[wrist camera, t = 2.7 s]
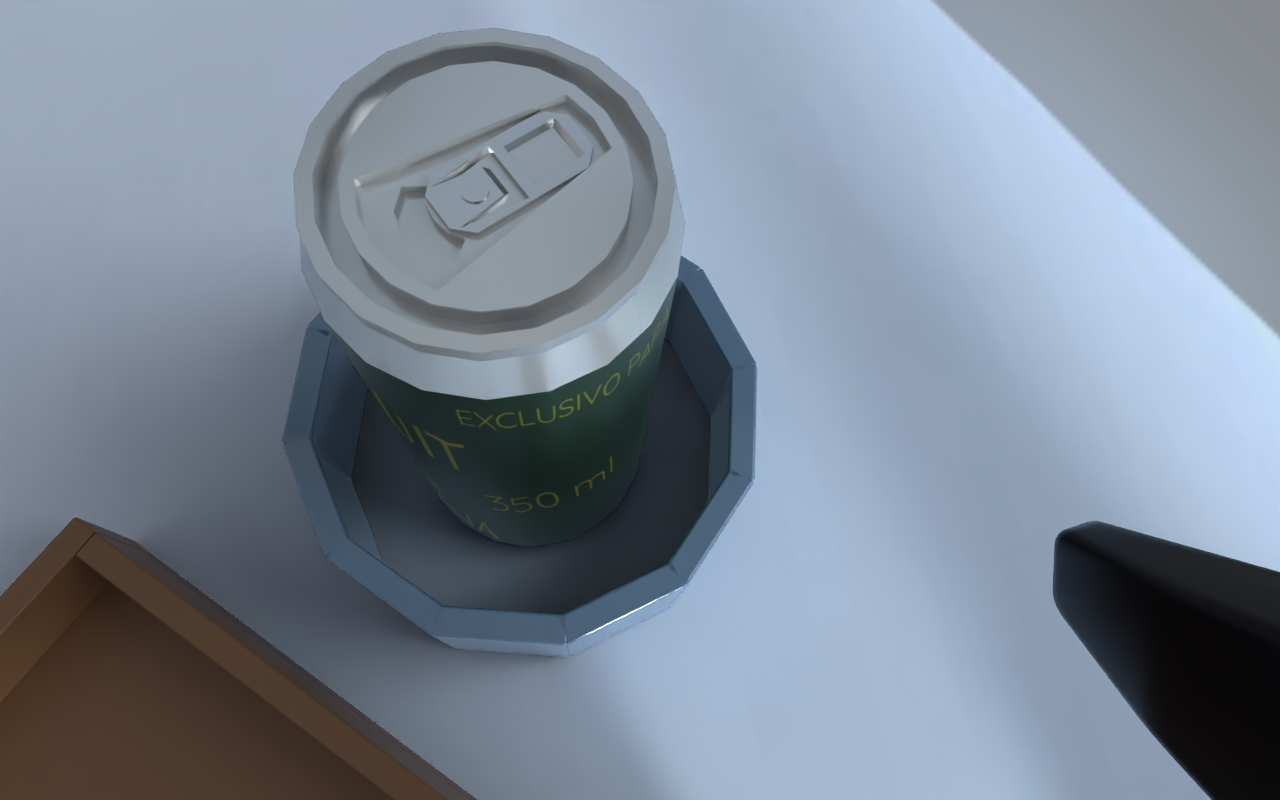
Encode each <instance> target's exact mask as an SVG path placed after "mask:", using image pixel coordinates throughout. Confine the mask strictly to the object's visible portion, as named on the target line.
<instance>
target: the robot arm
mask: <svg viewBox="0 0 1280 800" xmlns="http://www.w3.org/2000/svg"><path fill="white" fill-rule="evenodd" d="M1053 596H1054V600H1055V603H1056V606H1057V608H1058V610H1059V612H1060V613H1061V615H1062V616H1063V618H1064V619H1065V621H1066V622H1067V623H1068V624H1069V626H1070V627H1071V628H1072V630H1073V631H1074V632H1075V634H1076V635H1077V636H1078V638H1079V639H1080V640H1081V642H1082V643H1083V644H1084V646H1085V647H1086V648H1087V650H1088V651H1089V652H1090V654H1091V655H1092V656H1093V658H1094V659H1095V660H1096V662H1097V663H1098V664H1099V666H1100V667H1101V668H1102V670H1103V671H1104V672H1105V673H1106V675H1107V676H1108V677H1109V679H1110V680H1111V681H1112V683H1113V684H1114V685H1115V687H1116V688H1117V689H1118V691H1119V692H1120V693H1121V695H1122V696H1123V697H1124V699H1125V700H1126V701H1127V703H1128V704H1129V705H1130V707H1131V708H1132V709H1133V711H1134V712H1135V713H1136V715H1137V716H1138V717H1139V718H1140V720H1141V721H1142V722H1143V723H1144V724H1145V726H1146V727H1147V728H1148V729H1149V731H1150V732H1151V733H1152V734H1153V736H1154V737H1155V738H1156V739H1157V740H1158V741H1159V742H1160V744H1161V745H1162V746H1163V747H1164V748H1165V749H1166V750H1167V752H1168V753H1169V754H1170V755H1171V756H1172V757H1173V758H1174V759H1175V760H1176V761H1177V763H1178V764H1179V765H1180V766H1181V767H1182V768H1183V769H1184V770H1185V771H1186V772H1187V773H1188V775H1189V776H1190V777H1191V778H1192V779H1193V780H1194V781H1195V782H1196V783H1197V784H1198V785H1199V787H1200V788H1201V789H1202V790H1203V791H1204V792H1205V793H1206V794H1207V795H1208V796H1209V797H1210V799H1211V800H1280V572H1278V571H1274V570H1271V569H1267V568H1263V567H1260V566H1256V565H1253V564H1249V563H1246V562H1242V561H1239V560H1235V559H1231V558H1228V557H1224V556H1221V555H1217V554H1214V553H1210V552H1207V551H1203V550H1199V549H1196V548H1192V547H1189V546H1185V545H1182V544H1178V543H1174V542H1171V541H1167V540H1164V539H1160V538H1157V537H1153V536H1150V535H1146V534H1142V533H1139V532H1135V531H1132V530H1128V529H1125V528H1121V527H1117V526H1114V525H1110V524H1107V523H1103V522H1099V521H1091V522H1086V523H1083V524H1080V525H1077V526H1075V527H1072V528H1069V529H1066V530H1063V531H1062V532H1060V533H1059V534H1058V536H1057V538H1056V540H1055V547H1054V572H1053Z"/></svg>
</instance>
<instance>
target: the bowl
mask: <svg viewBox="0 0 1280 800" xmlns="http://www.w3.org/2000/svg"><path fill="white" fill-rule="evenodd" d="M308 327H309V328H307V329H306V333H305V338H304V342H303V347H302V352H301V356H300V361H299V365H298V370H297V374H296V379H295V384H294V388H293V393H292V397H291V402H290V407H289V411H288V416H287V420H286V425H285V429H284V434H283V439H282V442H283V443H284V444H283V448H284V451H285V453H286V456H287V459H288V461H289V464H290V467H291V469H292V472H293V475H294V477H295V480H296V483H297V485H298V488H299V491H300V493H301V496H302V499H303V501H304V504H305V507H306V509H307V512H308V515H309V517H310V520H311V523H312V525H313V528H314V531H315V533H316V536H317V539H318V541H319V544H320V547H321V549H322V552H323V555H324V556H325V557H326V559H327V560H328V561H329V562H330V563H332V564H333V565H334V566H336V567H337V568H339V569H340V570H341V571H343V572H344V573H345V574H347V575H348V576H350V577H351V578H352V579H354V580H355V581H356V582H358V583H359V584H360V585H362V586H363V587H365V588H366V589H367V590H369V591H370V592H371V593H373V594H374V595H376V596H377V597H378V598H380V599H381V600H382V601H384V602H385V603H387V604H388V605H389V606H391V607H392V608H393V609H395V610H396V611H398V612H399V613H400V614H402V615H403V616H404V617H406V618H407V619H409V620H410V621H411V622H413V623H414V624H415V625H417V626H418V627H420V628H421V629H422V630H424V631H425V632H426V633H428V634H429V635H431V636H433V637H435V638H437V639H438V640H440V641H442V642H444V643H445V644H447V645H449V646H451V647H452V648H456V649H462V650H476V651H490V652H503V653H517V654H531V655H544V656H558V657H569V655H570V656H573V655H575V654H577V653H579V652H581V651H583V650H585V649H587V648H589V647H591V646H593V645H595V644H597V643H599V642H601V641H603V640H605V639H607V638H609V637H611V636H613V635H615V634H617V633H619V632H621V631H624V630H626V629H628V628H630V627H632V626H634V625H636V624H638V623H640V622H642V621H644V620H646V619H648V618H650V617H652V616H654V615H656V614H658V613H660V612H662V611H664V610H666V609H668V608H670V606H671V605H672V604H674V603H675V601H676V600H677V598H678V597H679V596H680V594H681V593H682V592H683V590H684V589H685V588H686V586H687V585H688V584H689V582H690V581H691V579H692V578H693V576H694V574H695V573H696V571H697V570H698V568H699V567H700V565H701V564H702V562H703V561H704V559H705V557H706V556H707V554H708V553H709V551H710V550H711V548H712V547H713V545H714V543H715V542H716V540H717V539H718V537H719V536H720V534H721V533H722V531H723V529H724V528H725V526H726V525H727V523H728V522H729V520H730V519H731V517H732V516H733V514H734V512H735V511H736V509H737V508H738V506H739V505H740V503H741V502H742V500H743V498H744V497H745V495H746V494H747V492H748V491H749V489H750V488H751V486H752V484H753V480H754V478H755V438H756V392H757V367H756V362H755V360H754V359H753V357H752V355H751V353H750V352H749V350H748V348H747V346H746V345H745V343H744V341H743V339H742V338H741V336H740V334H739V332H738V331H737V329H736V327H735V325H734V324H733V322H732V320H731V318H730V317H729V315H728V313H727V311H726V310H725V308H724V306H723V304H722V303H721V301H720V299H719V297H718V296H717V294H716V292H715V290H714V289H713V287H712V285H711V283H710V281H709V280H708V278H707V276H706V274H705V273H704V271H703V270H702V269H700V267H699V266H697V265H695V264H694V263H692V262H691V261H689V260H687V259H686V258H684V257H682V256H680V263H679V270H678V277H677V281H676V286H675V291H674V296H673V300H672V305H671V310H670V315H669V320H668V324H667V329H666V334H665V339H667V340H668V341H670V343H671V345H672V347H673V349H674V351H675V352H676V354H677V356H678V358H679V360H680V362H681V363H682V365H683V367H684V369H685V371H686V373H687V375H688V376H689V378H690V380H691V382H692V384H693V386H694V387H695V389H696V391H697V393H698V395H699V397H700V399H701V400H702V402H703V404H704V406H705V408H706V410H707V412H708V413H709V415H710V417H711V432H710V456H709V481H708V502H707V504H706V505H705V507H704V508H703V510H702V511H701V513H700V514H699V516H698V517H697V519H696V520H695V522H694V523H693V525H692V526H691V528H690V529H689V531H688V533H687V534H686V536H685V537H684V539H683V540H682V542H681V543H680V545H679V546H678V548H677V549H676V551H675V552H674V554H673V555H672V557H671V558H670V560H669V561H668V563H667V564H665V565H663V566H661V567H659V568H657V569H655V570H653V571H651V572H648V573H646V574H644V575H642V576H640V577H638V578H636V579H634V580H632V581H630V582H628V583H626V584H624V585H622V586H620V587H618V588H616V589H614V590H612V591H609V592H607V593H605V594H603V595H601V596H599V597H597V598H595V599H593V600H591V601H589V602H587V603H585V604H583V605H581V606H579V607H577V608H575V609H573V610H571V611H568V612H566V613H564V614H562V615H560V614H546V613H533V612H520V611H506V610H493V609H479V608H466V607H453V606H443V605H441V604H440V603H439V602H437V601H436V600H434V599H433V598H432V597H430V596H429V595H427V594H426V593H425V592H423V591H422V590H420V589H419V588H418V587H416V586H415V585H414V584H412V583H411V582H409V581H408V580H407V579H405V578H404V577H402V576H401V575H400V574H398V573H397V572H395V571H394V570H393V569H391V568H390V567H389V566H387V565H386V564H384V562H383V560H382V557H381V555H380V552H379V550H378V547H377V545H376V542H375V540H374V537H373V534H372V532H371V529H370V527H369V524H368V522H367V519H366V517H365V514H364V512H363V509H362V507H361V504H360V502H359V499H358V497H357V494H356V491H355V489H354V486H353V484H352V481H351V475H352V470H353V465H354V459H355V454H356V449H357V443H358V438H359V433H360V427H361V422H362V417H363V411H364V406H365V401H366V395H367V390H368V387H367V385H366V384H365V382H364V381H363V379H362V378H361V376H360V375H359V373H358V372H357V370H356V368H355V367H354V365H353V364H352V362H351V361H350V359H349V358H348V356H347V355H346V353H345V351H344V350H343V348H342V347H341V345H340V344H339V342H338V341H337V339H336V338H335V336H334V334H333V333H332V331H331V330H330V328H329V327H328V325H327V324H326V322H325V321H324V318H323V316H322V314H321V312H320V313H319V314H318V315H317V316H316V318H315V319H314V320H313V321H312V322H311V323H310V324H309V326H308Z"/></svg>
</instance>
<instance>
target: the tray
mask: <svg viewBox="0 0 1280 800" xmlns="http://www.w3.org/2000/svg"><path fill="white" fill-rule="evenodd" d="M0 800H476V799H475V798H474V797H472V796H471V795H470V794H468V793H467V792H466V791H464V790H463V789H462V788H461V787H459V786H458V785H457V784H455V783H454V782H453V781H451V780H450V779H449V778H447V777H446V776H445V775H443V774H442V773H441V772H439V771H438V770H437V769H435V768H434V767H433V766H431V765H430V764H429V763H427V762H426V761H425V760H423V759H422V758H421V757H419V756H418V755H417V754H415V753H414V752H413V751H411V750H410V749H409V748H408V747H406V746H405V745H404V744H402V743H401V742H400V741H398V740H397V739H396V738H394V737H393V736H392V735H390V734H389V733H388V732H386V731H385V730H384V729H382V728H381V727H380V726H378V725H377V724H376V723H374V722H373V721H372V720H370V719H369V718H368V717H366V716H365V715H364V714H362V713H361V712H360V711H359V710H357V709H356V708H355V707H353V706H352V705H351V704H349V703H348V702H347V701H345V700H344V699H343V698H341V697H340V696H339V695H337V694H336V693H335V692H333V691H332V690H331V689H329V688H328V687H327V686H325V685H324V684H323V683H321V682H320V681H319V680H317V679H316V678H315V677H313V676H312V675H311V674H309V673H308V672H307V671H306V670H304V669H303V668H302V667H300V666H299V665H298V664H296V663H295V662H294V661H292V660H291V659H290V658H288V657H287V656H286V655H284V654H283V653H282V652H280V651H279V650H278V649H276V648H275V647H274V646H272V645H271V644H270V643H268V642H267V641H266V640H264V639H263V638H262V637H260V636H259V635H258V634H257V633H255V632H254V631H253V630H251V629H250V628H249V627H247V626H246V625H245V624H243V623H242V622H241V621H239V620H238V619H237V618H235V617H234V616H233V615H231V614H230V613H229V612H227V611H226V610H225V609H223V608H222V607H221V606H219V605H218V604H217V603H215V602H214V601H213V600H211V599H210V598H209V597H207V596H206V595H205V594H204V593H202V592H201V591H200V590H198V589H197V588H196V587H194V586H193V585H192V584H190V583H189V582H188V581H186V580H185V579H184V578H182V577H181V576H180V575H178V574H177V573H176V572H174V571H173V570H172V569H170V568H169V567H168V566H166V565H165V564H164V563H162V562H161V561H160V560H158V559H157V558H156V557H154V556H153V555H152V554H151V553H149V552H148V551H147V550H145V549H144V548H143V547H141V546H140V545H139V544H137V543H136V542H135V541H133V540H131V539H128V538H126V537H122V536H121V535H118V534H116V533H113V532H111V531H109V530H106V529H104V528H101V527H99V526H96V525H94V524H91V523H89V522H86V521H84V520H81V519H79V518H74V519H73V520H72V521H71V522H70V523H69V524H68V525H67V526H66V527H65V528H64V529H63V530H62V531H61V533H60V534H59V535H58V536H57V537H56V538H55V539H54V540H53V541H52V542H51V543H50V544H49V545H48V546H47V547H46V549H45V550H44V551H43V552H42V553H41V554H40V555H39V556H38V557H37V558H36V559H35V560H34V561H33V562H32V564H31V565H30V566H29V567H28V568H27V569H26V570H25V571H24V572H23V573H22V574H21V575H20V576H19V577H18V578H17V580H16V581H15V582H14V583H13V584H12V585H11V586H10V587H9V588H8V589H7V590H6V591H5V592H4V593H3V594H2V596H1V597H0Z"/></svg>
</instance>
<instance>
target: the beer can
mask: <svg viewBox="0 0 1280 800" xmlns="http://www.w3.org/2000/svg"><path fill="white" fill-rule="evenodd" d="M294 195H295V215H296V227H297V230H298V232H299V234H300V246H301V266H302V272H303V274H304V276H305V278H306V281H307V283H308V285H309V287H310V289H311V292H312V294H313V296H314V298H315V301H316V303H317V305H318V307H319V309H320V312H321V314H322V316H323V318H324V321H325V322H326V324H327V325H328V327H329V328H330V330H331V331H332V333H333V334H334V336H335V338H336V339H337V341H338V342H339V344H340V345H341V347H342V348H343V350H344V351H345V353H346V355H347V356H348V358H349V359H350V361H351V362H352V364H353V365H354V367H355V368H356V370H357V372H358V373H359V375H360V376H361V378H362V379H363V381H364V382H365V384H366V385H367V387H368V389H369V390H370V392H371V393H372V395H373V396H374V398H375V399H376V401H377V402H378V404H379V406H380V407H381V409H382V410H383V412H384V413H385V415H386V416H387V418H388V419H389V421H390V422H391V424H392V426H393V427H394V429H395V430H396V432H397V433H398V435H399V436H400V438H401V439H402V441H403V443H404V444H405V446H406V447H407V449H408V450H409V452H410V453H411V455H412V456H413V458H414V460H415V461H416V463H417V464H418V466H419V467H420V469H421V470H422V472H423V473H424V475H425V477H426V478H427V480H428V481H429V483H430V484H431V486H432V487H433V489H434V490H435V492H436V494H437V495H438V497H439V498H440V500H441V501H442V502H443V503H444V505H445V506H446V507H447V508H448V509H449V510H450V511H451V512H452V513H453V514H454V515H455V516H456V517H457V518H458V519H459V520H460V521H461V522H462V523H463V524H464V525H465V526H466V527H468V528H470V529H472V530H474V531H476V532H478V533H480V534H482V535H484V536H486V537H488V538H490V539H492V540H494V541H496V542H502V543H508V544H515V545H521V546H528V547H534V546H540V545H546V544H553V543H559V542H565V541H568V540H570V539H572V538H573V537H575V536H577V535H579V534H581V533H583V532H585V531H587V530H589V529H591V528H593V527H595V526H597V525H598V524H599V523H600V522H601V521H602V520H603V519H604V518H605V517H606V516H607V515H608V514H609V513H610V512H611V511H612V510H613V509H614V508H615V507H616V506H617V505H618V504H619V503H620V502H621V501H622V500H623V498H624V496H625V494H626V492H627V490H628V488H629V486H630V484H631V482H632V480H633V478H634V476H635V474H636V472H637V468H638V463H639V458H640V453H641V449H642V444H643V439H644V434H645V430H646V425H647V420H648V415H649V410H650V406H651V401H652V396H653V391H654V386H655V382H656V377H657V372H658V367H659V363H660V358H661V353H662V348H663V343H664V339H665V334H666V329H667V324H668V320H669V315H670V310H671V305H672V300H673V296H674V291H675V286H676V281H677V277H678V270H679V263H680V256H681V249H682V242H683V235H684V228H685V221H684V216H683V211H682V207H681V202H680V198H679V193H678V188H677V184H676V179H675V175H674V171H673V167H672V162H671V158H670V153H669V148H668V144H667V139H666V135H665V133H664V131H663V129H662V128H661V126H660V125H659V123H658V122H657V120H656V118H655V117H654V115H653V114H652V112H651V110H650V109H649V107H648V106H647V104H646V102H645V101H644V99H643V98H642V96H641V94H640V93H639V91H637V90H636V89H635V88H634V87H633V86H631V85H630V84H629V83H628V82H627V81H625V80H624V79H623V78H622V77H621V76H619V75H618V74H617V73H616V72H615V71H613V70H612V69H611V68H610V67H609V66H608V65H606V64H605V63H604V62H603V61H602V60H600V59H599V58H597V57H595V56H593V55H590V54H588V53H586V52H583V51H581V50H579V49H577V48H574V47H572V46H570V45H568V44H565V43H563V42H561V41H558V40H556V39H554V38H552V37H549V36H543V35H536V34H530V33H523V32H517V31H511V30H504V29H498V28H490V29H479V30H468V31H458V32H447V33H438V34H436V35H433V36H430V37H427V38H425V39H422V40H419V41H416V42H413V43H411V44H408V45H405V46H402V47H399V48H397V49H394V50H391V51H388V52H386V53H385V54H383V55H382V56H380V57H379V58H378V59H376V60H375V61H373V62H372V63H371V64H369V65H368V66H366V67H365V68H363V69H362V70H361V71H359V72H358V73H356V74H355V75H353V76H352V77H351V78H349V79H348V80H346V81H345V82H343V83H342V84H341V86H340V87H339V88H338V90H337V91H336V92H335V93H334V95H333V96H332V97H331V99H330V100H329V101H328V102H327V104H326V105H325V106H324V108H323V109H322V110H321V111H320V113H319V114H318V115H317V117H316V118H315V119H314V121H313V122H312V123H311V124H310V126H309V129H308V132H307V135H306V138H305V141H304V144H303V147H302V150H301V153H300V156H299V159H298V162H297V165H296V168H295V171H294Z"/></svg>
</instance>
